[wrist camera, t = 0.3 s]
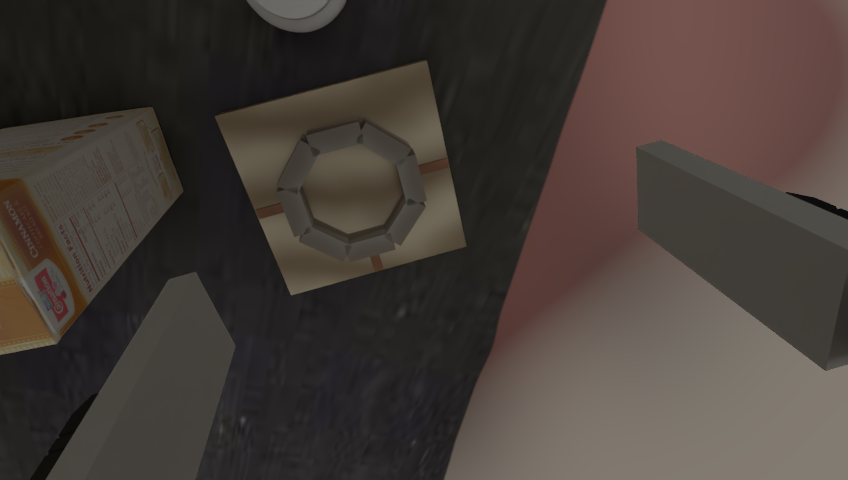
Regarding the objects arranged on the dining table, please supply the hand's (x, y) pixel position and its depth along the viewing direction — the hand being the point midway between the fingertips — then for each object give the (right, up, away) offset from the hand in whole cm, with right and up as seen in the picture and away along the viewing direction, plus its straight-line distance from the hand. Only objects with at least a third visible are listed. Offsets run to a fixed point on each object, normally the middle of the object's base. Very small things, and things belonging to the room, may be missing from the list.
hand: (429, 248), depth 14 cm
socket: (-6, +5, +26) cm, 27 cm away
